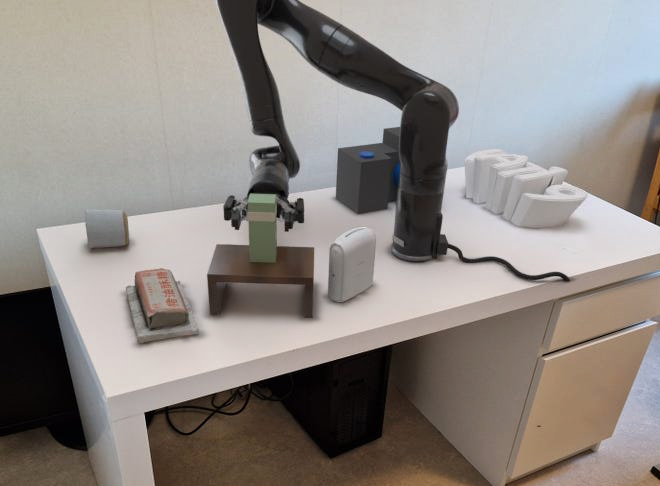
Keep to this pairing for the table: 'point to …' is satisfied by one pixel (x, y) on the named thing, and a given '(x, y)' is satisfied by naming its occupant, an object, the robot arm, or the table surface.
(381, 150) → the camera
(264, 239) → the box
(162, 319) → the packaged product
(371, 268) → the photo printer
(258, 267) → the shelf stand
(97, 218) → the ceramic mug
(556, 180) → the white letter sculpture
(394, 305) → the table surface
